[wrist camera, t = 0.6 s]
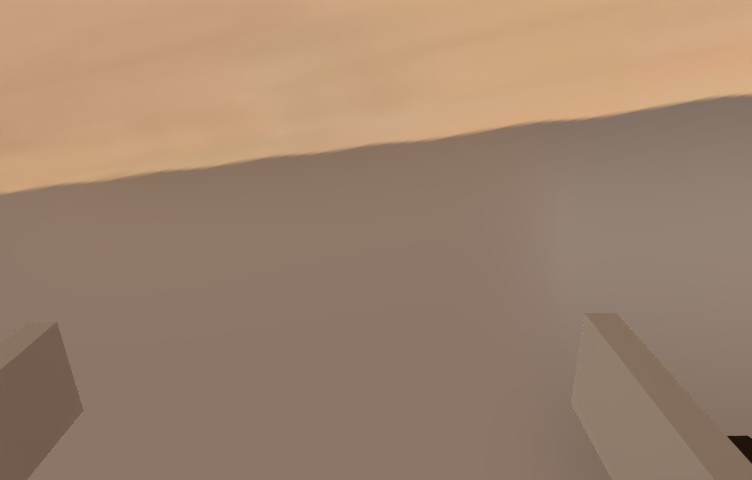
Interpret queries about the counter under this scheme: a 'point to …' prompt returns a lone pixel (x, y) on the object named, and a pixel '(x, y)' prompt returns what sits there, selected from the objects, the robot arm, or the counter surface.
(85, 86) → the counter surface
